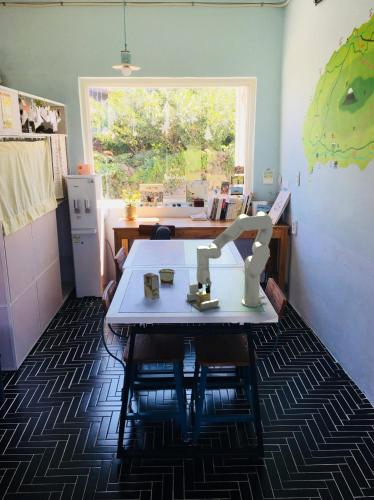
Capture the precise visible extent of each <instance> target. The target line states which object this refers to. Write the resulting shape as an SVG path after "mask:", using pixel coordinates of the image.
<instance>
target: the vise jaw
mask: <svg viewBox="0 0 374 500" xmlns="http://www.w3.org/2000/svg"><path fill="white" fill-rule="evenodd" d="M204 291H205V290H204V289H198V282H195V283H190V284H189V292H186V299H188V300H189V301H192V300H196V293H199V292H204Z"/></svg>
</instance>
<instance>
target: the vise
mask: <svg viewBox="0 0 374 500" xmlns="http://www.w3.org/2000/svg"><path fill="white" fill-rule="evenodd" d="M219 301H220V300H219V299H210V301H207V302H202V303H200V305H198V304H197V303H196V300H192V301H189V300H188V299H187V298H186V299H185V302H187V304H189V305H190V306H192V307H194V308H195V309H196V310H198V311H199V312H200V313H201V312H205V311H210V310H213V309H217V308H219V309H220V308H221V306H220V304H219Z"/></svg>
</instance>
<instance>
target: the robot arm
mask: <svg viewBox="0 0 374 500" xmlns="http://www.w3.org/2000/svg"><path fill="white" fill-rule="evenodd" d="M273 226H274V225H273V220H272V218H271V216H270V215H269V214H268V213H267V212H266V211H258V212H257V213H256V214H255V215H252V216H251V215H250V216H249V214H245V213H242V214H239V215H238V216H237V217H236V218H235V219H234V220H233V222H232V223H230V225H229V226H228V227H227V228H226V229H225V230H224V231H223V232H222V233H220V234H218V236H217V237H216V238H215V239H214V240H212V242H210V244H209V246H207V245H200V246H197V247H196V265H197V267H196V281H197V283H198V289H199V290H203V288H204V286H205V291H206V294H209V293H210V294H211V286H212V283H213V282H212V281H211V274H210V259H213V260H214V259H215V260H216V259H220V258H221V256H222V249H223V248H224V247H225V246H226V245H227V244H229V243H230V242H233V241H235V240H237V238H238V237H240V236H241V235H242V233H244V232H245V231H247V232H248V231H258V232H257V235H256V238H255V239H254V242H253V244H252V247H251V252H252V255H248V256H247V257H246V258H245V260H244V264H243V266H244V291H243V293H244V296H243V299H242V300H241V304H242V305H243V306H245V307H249V308H257V307H259V306H261V305H262V300H265V299H266V296H265V295H260V287H261V286H260V282H261V273H262V272H263V271H264V268H265V267H266V264H267V262H268V260H269V258H270V253H271V252H270V248H269V244H270V241H271V238H272V236H273V230H274V227H273Z"/></svg>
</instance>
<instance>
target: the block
mask: <svg viewBox="0 0 374 500" xmlns="http://www.w3.org/2000/svg"><path fill="white" fill-rule="evenodd" d="M210 300H211V292H210V293H209V294H206V290H204V292H199V293H196V303H197V304H198V305H200V303H202V302H207V301H210Z"/></svg>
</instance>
